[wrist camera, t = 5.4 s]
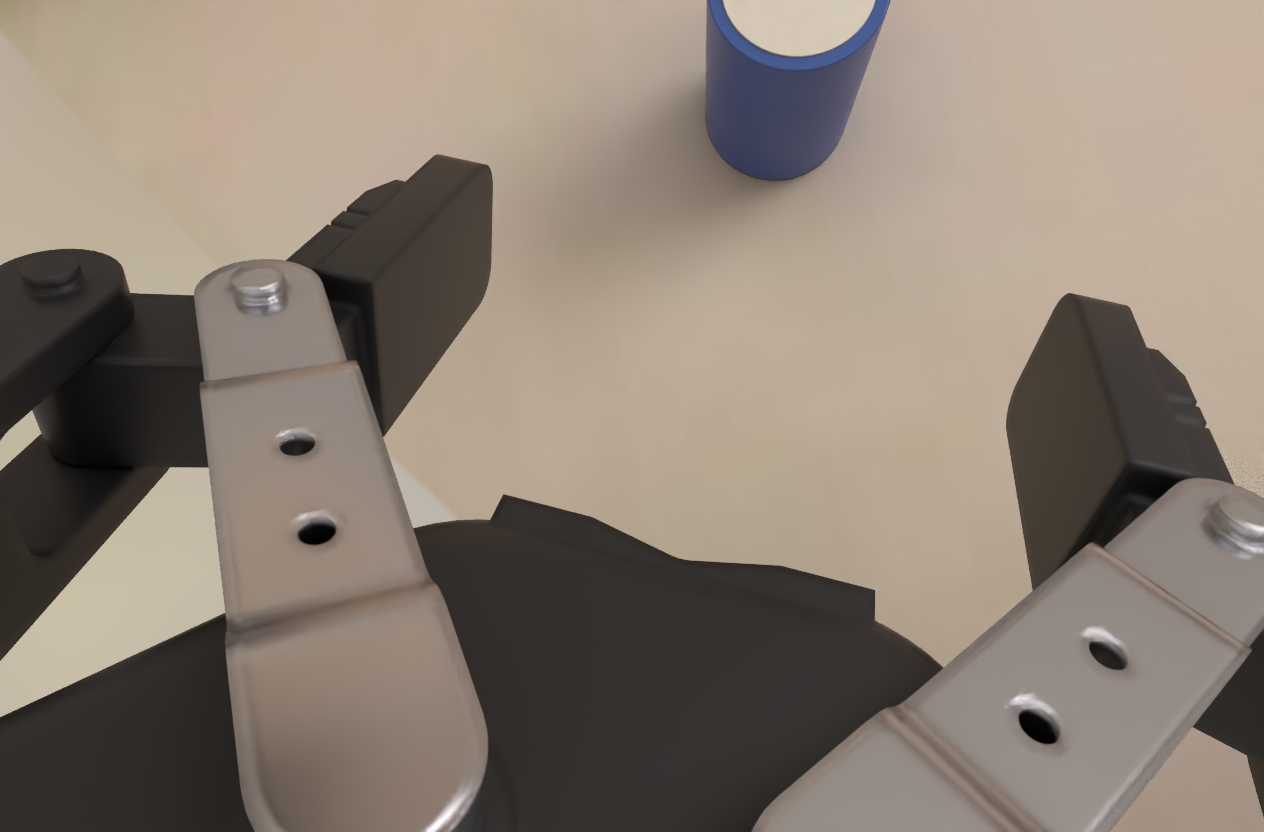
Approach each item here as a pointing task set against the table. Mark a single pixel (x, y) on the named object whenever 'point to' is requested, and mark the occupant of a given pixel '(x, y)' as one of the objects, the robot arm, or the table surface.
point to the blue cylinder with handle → (785, 79)
